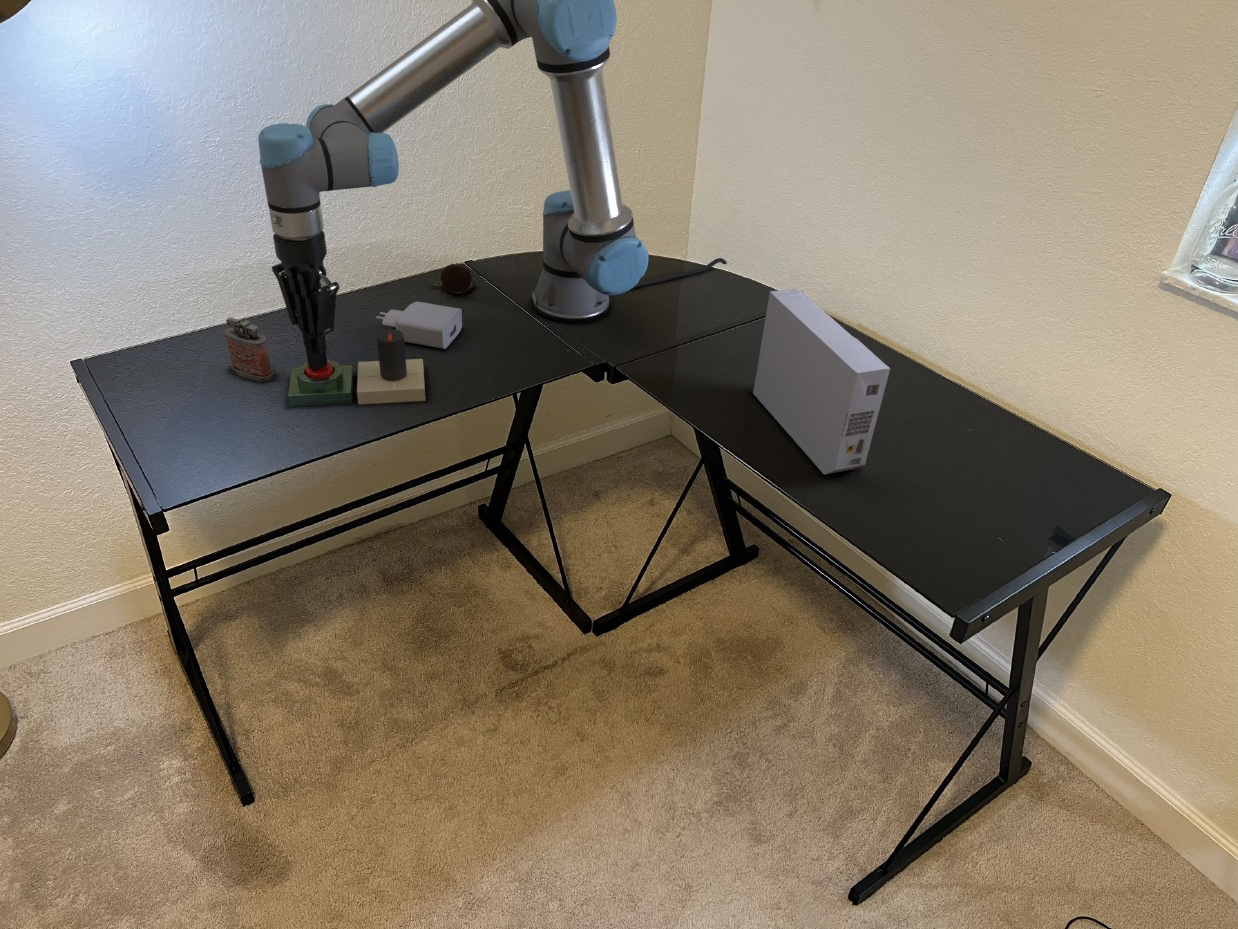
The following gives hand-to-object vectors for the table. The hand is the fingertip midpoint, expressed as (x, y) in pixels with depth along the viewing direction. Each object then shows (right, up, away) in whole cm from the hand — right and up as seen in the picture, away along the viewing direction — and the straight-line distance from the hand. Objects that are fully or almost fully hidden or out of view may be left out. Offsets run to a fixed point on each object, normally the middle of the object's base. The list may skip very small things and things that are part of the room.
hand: (318, 366), depth 157 cm
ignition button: (0, -2, +1) cm, 2 cm away
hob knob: (+12, -1, +4) cm, 12 cm away
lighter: (-13, -1, +6) cm, 15 cm away
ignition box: (0, -4, +3) cm, 5 cm away
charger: (+12, +8, +21) cm, 25 cm away
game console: (+81, -11, +1) cm, 82 cm away
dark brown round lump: (+16, +19, +37) cm, 44 cm away
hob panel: (+11, -3, +5) cm, 13 cm away
